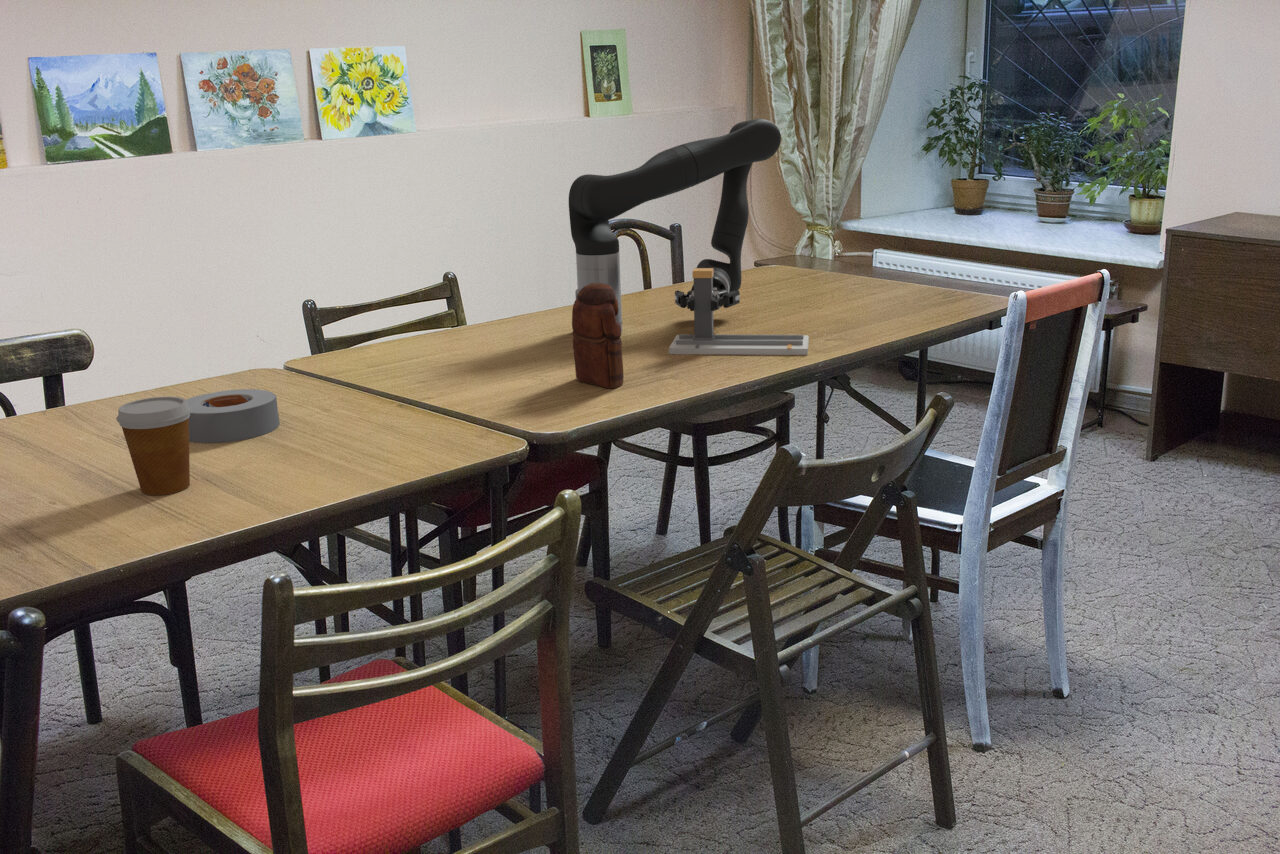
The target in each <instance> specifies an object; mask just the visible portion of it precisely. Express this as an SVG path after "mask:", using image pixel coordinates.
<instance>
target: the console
mask: <svg viewBox="0 0 1280 854" xmlns="http://www.w3.org/2000/svg"><path fill="white" fill-rule="evenodd" d="M694 336H695V333H694V334H691V333H690V334H681V333H680V334H676V336H675V337H674V339H673V341H672V342H671V344H670V345H669V347H668V354H669V355H745V356H746V355H754V356H755V355H758V356H759V355H765V356H766V355H768V356H769V355H772V356H773V355H774V356H776V355H779V356H780V355H781V356H785V355H786V356H793V355H794V356H797V355H798V356H799V355H800V356H807V355H808V353H809V341H810V340H809V339H810V337H809V336H810V335H805V334H794V333H789V334H715V339H714V340H693V337H694ZM808 356H809V355H808Z"/></svg>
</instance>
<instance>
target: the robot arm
mask: <svg viewBox="0 0 1280 854" xmlns="http://www.w3.org/2000/svg"><path fill="white" fill-rule="evenodd" d="M781 141H782V134H781V131H780V129H779V127H778V126H777V125H776V124H775V123H774V122H772V121H770V120H769V119H765V118H755V119H748V120H745V121H741V122H738V123H736V124H734V125H733V126H732V127H731V129H730V130H729V132H728V133H727V134H723V135H720V136H715V137H710V138H709V137H708V138H704V139H699V140H694V141H693V140H692V141H690V142H686V143H682V144H679V145H676V146H673V147H670V148H668V149H665V150H662V151H660V152H658V153H657V154H655V155H654V156H652V157H651V158H649V159H648V160H647V161H645V163H644V164H642V165H639V166H638V167H637V168H634V169H632V170H628V171H624V172H621V173H616V174H610V175H602V174H591V173H588V174H582V175H579V176H578V177H577V178H576V179H575V180H574V181H573V182H572V183H571V186H570V189H569V192H568V214H569V215H568V216H569V225H570V233H571V238H572V241H573V243H574V246H575V260H576V263H575V264H576V281H577V282H576V284H577V288H576V289H575V292H574V293H575V300H576V299H577V295H578V293H579V291H580V290H581V289H582V288H583V287H584V286H586V285H588V284H591V283H604V284H607V285H609V286H611V287H612V288H613V290H614V291H615V295H616V298H617V300H618V309H619V311H618V314H617V316H615V317H616V321H617V322H618V323H620V325H621V333H622V332H623V318H622V316H623V315H622V313H623V312H622V310H623V309H622V289H621V287H622V286H621V263H620V262H621V261H620V260H621V259H620V241H619V238H618V237H617V236H616V234H614V232H613V231H612V229H611V226H610V220H613V219H615V218H617V217H619V216H621V215H623V214H624V213H626V212H628V211H630V210H632V209H634V208H636V207H637V206H640V205H643V204H644V203H646V202H650V201H653V200H656V199H659V198H660V199H661V198H663V197H667V196H669V195H672V194H676V193H679V192H682V191H684V190H687V189H689V188H692V187H695V186H698V185H700V184H701V183H704V182H706V181H709V180H711V179H713V178H716V177H717V176H719V175H721V174H723V178H722V186H721V187H722V189H721V197H720V202H719V207H718V213H717V216H716V220H715V224H714V228H713V232H712V236H711V241H710V245H711V247H712V248H713V249H714V250H716V251H718V252H720V253H722V254H724V255H726V256H727V257H728V258H729V262H724V261H719V260H716V259H711V258H705V259H702V260H700V261H699V262H698V264H697V266H696V268H714V275H713V297H712V299H711V311H713V312H715V311H718V310H719V309H721V308H722V307H723V308H725V309H728V308H730V307H733V306H736V305H738V304H740V301H741V300H740V298H741V296H740V288H741V285H742V277H743V276H742V248H743V245H744V244H743V243H744V239H745V235H746V232H747V227H748V222H749V212H750V211H749V202H748V195H747V194H748V193H747V184H748V183H747V182H748V177H749V174H750V171H751V168H752V165H753V163H757V162H759V163H760V162H763V161H766V160H769V159H771V158H772V157H773V156H774V155H775V154H776V153H777V151H778V150H779V149H780V145H781ZM674 304H675V305H677V306H679V307H680V308H682V309H687V310H689V312H694V283H693V285H692V286H691V289H690V290H688V291H687V292H686V293H685V291H682V290H675V291H674Z"/></svg>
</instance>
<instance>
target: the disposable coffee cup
mask: <svg viewBox="0 0 1280 854" xmlns="http://www.w3.org/2000/svg"><path fill="white" fill-rule="evenodd" d="M190 413H191V408H190V407H189V406H188V404H187V401H186V399H185V398H183V397H180V396H155V397H147V398H143V399H142V398H141V399H136V400H134V401H133V400H132V401H130V402H126V403H125V404H122V405H121V406H119V408H118V414H117V416H116V421H117V423H118V424H119V426H120V427H121V430H122V432H123V436H124V439H125V442H126V445H127V448H128V451H129V455H130V458H131V462H132V465H133V468H134V471H135V475H136V477H137V481H138V484H139V487H140V491H141V493H142V494H144V495H148V496H167V495H170V494H171V495H172V494H176V493H179V492H181V491H184V490H185V489H186V490H187V488H189V487H190V485H191V483H190V481H191V480H190V479H191V478H190V477H191V476H190V475H191V474H190V467H191V465H190V441H189V417H190Z"/></svg>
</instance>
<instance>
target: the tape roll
mask: <svg viewBox="0 0 1280 854" xmlns="http://www.w3.org/2000/svg"><path fill="white" fill-rule="evenodd" d="M185 400H186V401H187V404H188V406H189V407H190V408H191V413H190V417H189V443H190V442H191V443H199V444H222V443H223V444H224V443H225V444H226V443H231V442H239V441H244V440H249V439H253V438H254V439H255V438H257V437H261V436H264V435H266V434H269V433H272V432H273V431H275V430H277V429H278V428H279V427H280V423H281V422H280V416H279V415H280V414H279V409H278V407H279V406H278V399H277V395H276V394H275V393H273V392H272V391H269V390H266V389H265V390H264V389H259V388H256V389H254V388H252V389H251V388H240V389H239V388H237V389H227V390H221V391H215V392H209V393H203V394H199V395H196V396H192V397H189V398H186V399H185Z"/></svg>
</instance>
